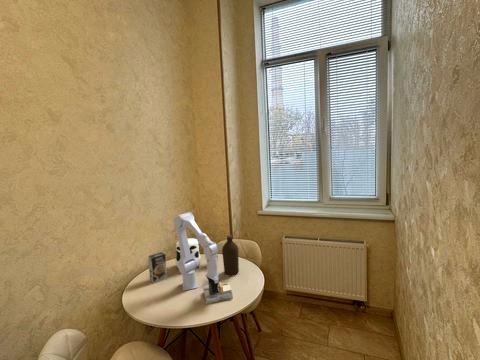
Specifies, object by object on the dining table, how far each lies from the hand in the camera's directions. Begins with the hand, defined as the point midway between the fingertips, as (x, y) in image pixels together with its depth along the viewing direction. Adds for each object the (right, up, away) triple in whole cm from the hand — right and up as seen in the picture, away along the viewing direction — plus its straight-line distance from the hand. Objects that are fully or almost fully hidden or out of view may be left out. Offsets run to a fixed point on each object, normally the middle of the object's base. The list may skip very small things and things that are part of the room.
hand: (213, 290), depth 139 cm
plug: (0, -2, 0) cm, 2 cm away
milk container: (-22, -1, +41) cm, 46 cm away
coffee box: (-38, -4, +24) cm, 45 cm away
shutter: (+6, 0, +2) cm, 6 cm away
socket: (+2, -3, +1) cm, 4 cm away
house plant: (-3, 0, +41) cm, 41 cm away
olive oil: (+9, -1, +28) cm, 29 cm away
